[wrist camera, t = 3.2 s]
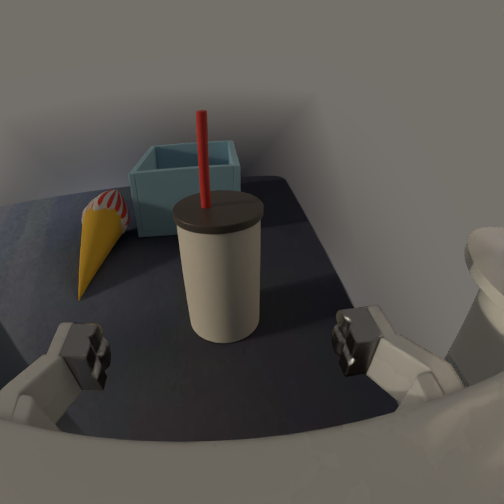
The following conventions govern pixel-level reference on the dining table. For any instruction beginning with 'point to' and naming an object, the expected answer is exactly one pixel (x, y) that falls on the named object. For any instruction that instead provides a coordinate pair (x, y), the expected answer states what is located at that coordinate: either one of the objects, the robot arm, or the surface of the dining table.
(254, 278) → the paper cup
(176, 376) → the dining table surface
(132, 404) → the dining table surface
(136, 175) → the bin
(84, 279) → the ice cream cone
